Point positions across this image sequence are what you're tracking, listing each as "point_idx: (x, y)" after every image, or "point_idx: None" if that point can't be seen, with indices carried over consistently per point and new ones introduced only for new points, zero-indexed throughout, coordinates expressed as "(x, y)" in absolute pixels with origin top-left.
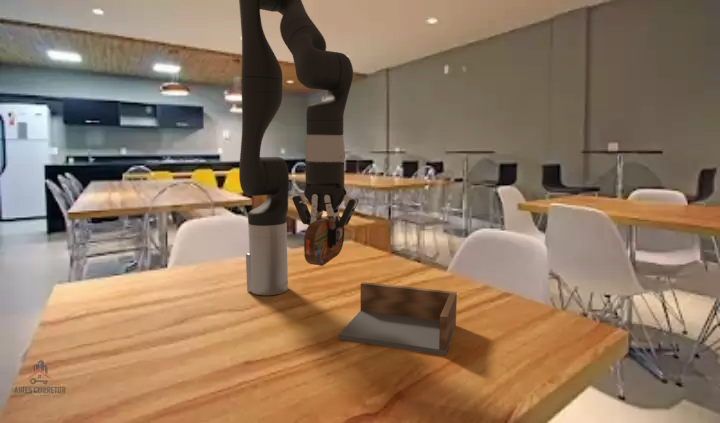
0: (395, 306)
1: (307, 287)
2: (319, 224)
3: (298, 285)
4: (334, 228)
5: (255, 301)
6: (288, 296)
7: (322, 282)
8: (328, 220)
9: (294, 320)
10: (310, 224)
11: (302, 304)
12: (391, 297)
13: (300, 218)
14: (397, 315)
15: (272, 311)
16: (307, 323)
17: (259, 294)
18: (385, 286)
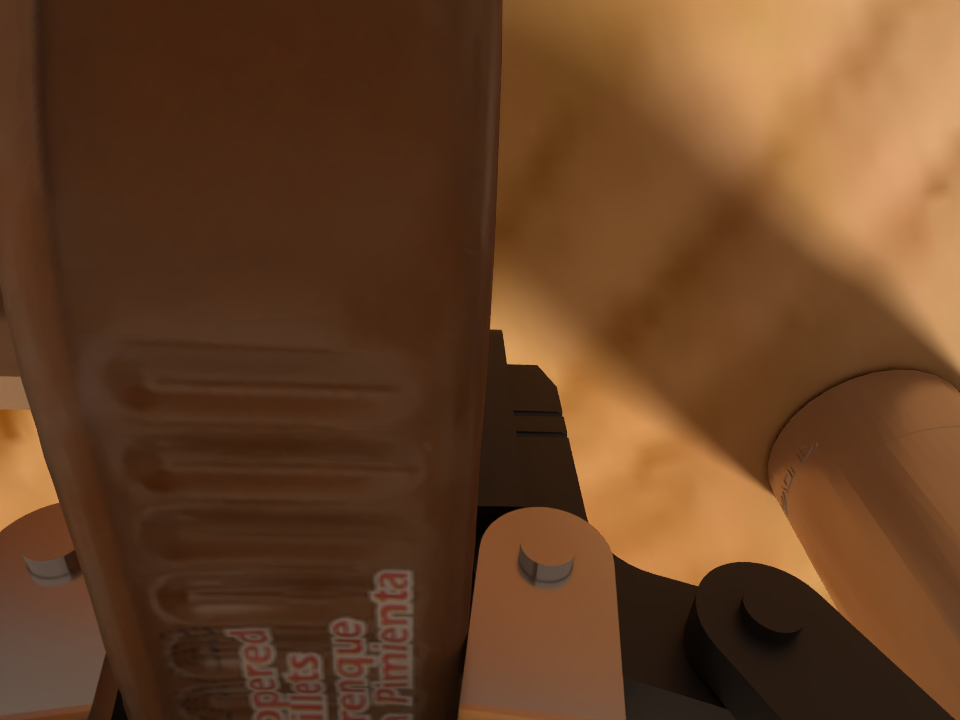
0: (2, 302)
1: (673, 523)
2: (87, 252)
3: (726, 533)
4: (28, 522)
5: (910, 292)
6: (740, 400)
7: None
8: (116, 678)
9: (604, 89)
10: (434, 225)
11: (631, 323)
12: (6, 334)
13: (902, 673)
14: None
15: (776, 183)
16: (509, 66)
17: (907, 372)
18: (14, 374)
